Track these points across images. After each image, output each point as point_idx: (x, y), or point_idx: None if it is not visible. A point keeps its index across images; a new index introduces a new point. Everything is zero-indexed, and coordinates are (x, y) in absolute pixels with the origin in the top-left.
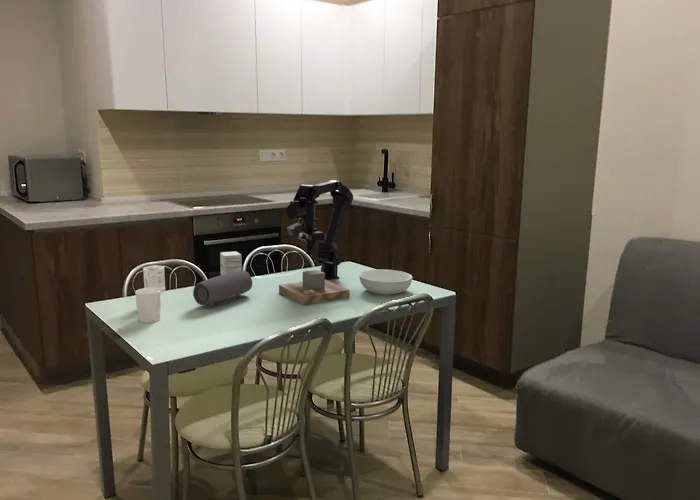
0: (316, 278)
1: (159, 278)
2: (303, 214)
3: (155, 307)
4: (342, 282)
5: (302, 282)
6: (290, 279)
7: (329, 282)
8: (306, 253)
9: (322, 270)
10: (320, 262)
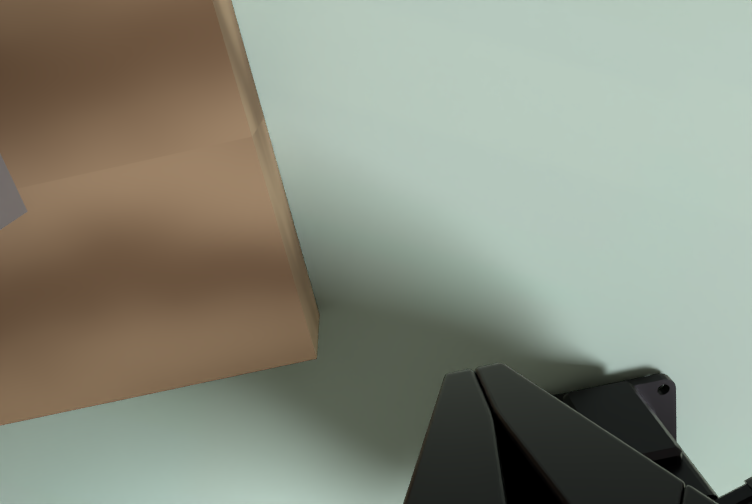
0: None
1: None
2: None
3: None
4: (384, 500)
5: (171, 48)
6: (733, 33)
7: (113, 375)
8: (477, 372)
9: (620, 438)
10: (741, 496)
